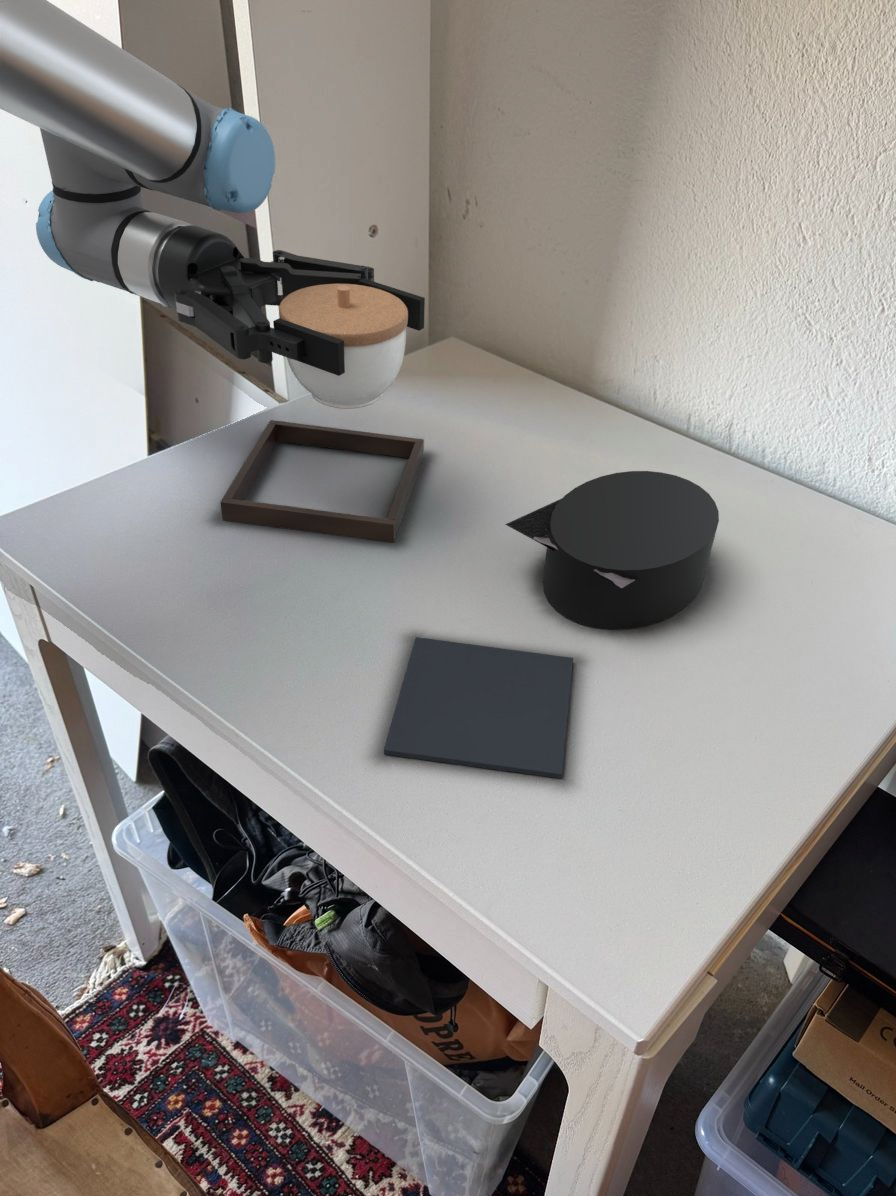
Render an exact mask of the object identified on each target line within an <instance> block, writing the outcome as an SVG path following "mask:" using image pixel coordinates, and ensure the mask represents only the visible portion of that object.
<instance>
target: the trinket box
mask: <svg viewBox="0 0 896 1196" xmlns="http://www.w3.org/2000/svg"><path fill="white" fill-rule="evenodd" d="M278 315H279V318H280V319H283V320H286V321H289V322H292V323H295V324H298V325H300V326H303V327H306V328H309V329H312V330H315V331H318V332H321V333H323V334H326V335H329V336H332V337H335V338H338V339H341V340H344V364H345V373H343V374H342V375H340V376H338V375H335V374H332V373H329V372H327V371H324V370H321V369H318V368H316V367H313V366H310V365H307V364H305V363H302V362H299V361H296V360H294V359H290V358H287V357H286V359H287V363H288V366H289V367H290V370H291V372H292V374H293V376H294V377H295V379H296V380H297V382H298V383H299V384H300V385H301V386H302V387H303V388H304V389H305V390H306V391H308V393H310V394H311V396H312V398H313V399H314V400H315V401H316V402H318V403H320V404H321V405H323V406H326V407H329V408H334V409H340V410H354V409H355V410H356V409H361V408H366V407H369V406H371V405H373V404H375V403H376V402H378V401H379V399H380V398H381V396H382V395H383V394H384V393H385V392H386V391H387V390H388V389H389V388H390V387H391V386H392V385H393V383H394V382H395V381H396V379H397V377H398V376H399V373H400V370H401V369H402V365H403V361H404V359H405V352H406V346H407V345H406V344H407V327H406V326H407V323H408V310H407V307H406V306H405V304H404V303H403V302H402V301H401V300H400V299H399V298H397V297H396V296H394V295H392V294H390V293H388V292H386V291H383V290H380V289H376V288H373V287H368V286H362V285H355V284H323V285H316V286H310V287H306V288H302V289H300V290H297V291H295V292H293V293H291V294H289V295H288V296H286V297H285V298H284V299H283V300H282V302H281V303H280V306H278Z"/></svg>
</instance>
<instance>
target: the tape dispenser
mask: <svg viewBox="0 0 896 1196" xmlns="http://www.w3.org/2000/svg"><path fill="white" fill-rule="evenodd" d="M719 514H720V513H719V508H718V506H717V504H716V501H715V499H714V498H713V497H712V496H711V494H710V493H709V492H708V491H707V490H705V489H704V488H703V487H701V486H700V485H698V484H697V483H695V482H693V481H691V480H689V479H687V478H684V477H681V476H678V475H676V474H670V473H667V472H661V471H653V470H652V471H651V470H628V471H621V472H620V471H619V472H615V473H610V474H605V475H601V476H599V477H595V478H593V479H590V480H588V481H585V482H583V483H581V484H579V485H578V486H576V487H574V488H573V489H571V490H570V491H569V492H567V493H566V494H565V495H563V496H562V497H561V498H560V499H557V500H555V501H553V502H551V503H549V504H546V505H544V506H541V507H540V508H537V509H536V510H533V511H531V512H529V513H527V514H524V515H523V516H520V517H518V518H516V519H513V520H512V521H509V522H507V523H504V525H505V526H507V527H509V528H510V529H512V530H515V531H516V532H518V533H520V534H522V535H523V536H525V537H527V538H529V539H531V540H533V541H534V542H535V543H538V544H540V545H542V546H544V547H545V548H546V553H545V561H544V567H543V575H542V591H543V594H544V596H545V598H546V600H547V603H549V604H550V605H549V606H551V607H552V608H553V609H554V610H555V612H557V613H559V614H560V615H561V616H563V617H564V618H565V619H567V620H569V621H572V622H574V623H576V624H579V625H581V626H585V627H589V628H593V629H599V630H600V629H601V630H609V631H616V630H619V631H620V630H632V629H637V628H644V627H648V626H652V625H655V624H658V623H661V622H663V621H665V620H668V619H669V618H671V617H674V616H676V615H677V614H679V613H680V612H681V611H683V610H684V609H685V608H687V607H688V606H689V605H690V604H691V603H692V602H693V601H694V600H695V598H697V596H698V595H699V592H700V591H701V590H702V586H703V583H704V580H705V576H706V572H707V568H708V566H709V565H708V564H709V560H710V556H711V554H712V553H711V552H712V549H713V545H714V541H715V539H716V538H715V537H716V533H717V529H718V527H719V522H720V515H719Z"/></svg>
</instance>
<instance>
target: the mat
mask: <svg viewBox="0 0 896 1196" xmlns="http://www.w3.org/2000/svg"><path fill="white" fill-rule="evenodd" d="M409 656H410V657H409V659H408V663H407V665H406V670H405V673H404V677H403V681H402V684H401V688H400V690H399V695H398V698H397V702H396V705H395V709H394V712H393V716H392V720H391V723H390V727H389V730H388V734H387V737H386V741H385V745H384V748H383V755H387V756H394V757H402V758H407V759H415V760H423V761H429V762H437V763H446V764H452V765H459V766H467V767H474V768H482V769H490V770H495V771H496V770H497V771H504V772H510V773H519V774H526V775H533V776H539V777H547V778H555V779H562V778H563V769H564V759H565V748H566V740H567V739H566V738H567V727H568V717H569V708H570V706H569V705H570V695H571V685H572V676H573V675H572V674H573V664H574V658H573V657H569V656H563V655H554V654H546V653H539V652H532V651H524V650H516V649H509V648H502V647H495V646H486V645H479V644H471V643H465V642H458V641H457V642H456V641H450V640H443V639H442V640H441V639H435V638H428V637H427V638H426V637H421V636H419V637H418V636H415V638H414V642H413V645H412V649H411V652H410V655H409Z"/></svg>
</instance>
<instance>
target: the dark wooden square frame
mask: <svg viewBox="0 0 896 1196" xmlns="http://www.w3.org/2000/svg"><path fill="white" fill-rule="evenodd" d="M277 442H281V443H289V444H296V445H305V446H311V447H313V446H314V447H318V448H319V447H320V448H327V449H336V450H342V451H351V452H360V453H367V454H374V455H383V456H390V457H398V458H405V459H408V460H407V464H406V466H405V468H404V472H403V474H402V477H401V480H400V482H399V485H398V488H397V490H396V494H395V496H394V498H393V502H392V504H391V506H390V509H389V512H388V515H387V518H383V517H375V516H369V515H368V516H367V515H359V514H351V513H344V512H336V511H328V510H321V509H314V508H306V507H298V506H291V505H282V504H275V503H267V502H260V501H251V500H246V499H245V497H246V496H247V494H248V493H249V491H250V488H252V485H253V483H254V482H255V480H256V478H257V477H258V475H259V473H260V472H261V470H262V469H263V466H264V465H265V463H266V462H267V460H268V458H269V456H270V454H271V452H272V451H273V449H274V448H275V446H276V444H277ZM424 454H425V439H423V438H415V437H408V436H400V435H393V434H385V433H377V432H369V431H360V430H355V429H347V428H339V427H338V428H337V427H331V426H322V425H314V424H307V423H297V422H291V421H283V420H275V419H270V420H269V421H268V422H267V425H266V426H265V428H264V429H263V431H262V433H261V434H260V435H259V438H258V439H257V441H256V443H254V446H253V448H251V450H250V452H249V454H248V456H247V458H246V459H245V460H244V462H243V464H242V466H241V467H240V469H239V470H238V472H237V473H236V475H235V477H234V479H233V480H232V482H231V484H230V485H229V487H228V488H227V490H226V492H225V494H224V495H223V497H222V498H221V500H220V503H219V504H220V511H221V518H222V521H225V522H234V523H242V524H249V525H257V526H265V527H273V528H279V529H285V530H286V529H287V530H293V531H294V530H295V531H302V532H310V533H319V534H325V535H334V536H339V537H341V536H342V537H347V538H355V539H364V540H372V541H379V542H387V543H394V542H395V540H396V537H397V534H398V531H399V529H400V525H401V523H402V519H403V517H404V515H405V511H406V509H407V506H408V503H409V500H410V498H411V494H412V492H413V488H414V485H415V483H416V479H417V478H418V477H417V476H418V474H419V471H420V469H421V465H422V463H423V459H424V456H425V455H424ZM244 499H245V500H244Z"/></svg>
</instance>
